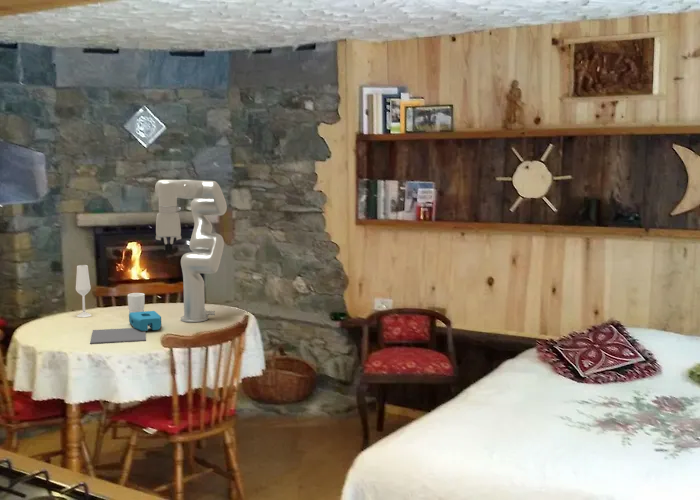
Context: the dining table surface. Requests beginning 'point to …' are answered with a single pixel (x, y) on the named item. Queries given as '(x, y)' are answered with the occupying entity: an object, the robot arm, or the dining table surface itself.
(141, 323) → the block
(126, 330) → the gray square mat
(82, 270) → the champagne flute
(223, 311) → the dining table surface
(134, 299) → the white cup
